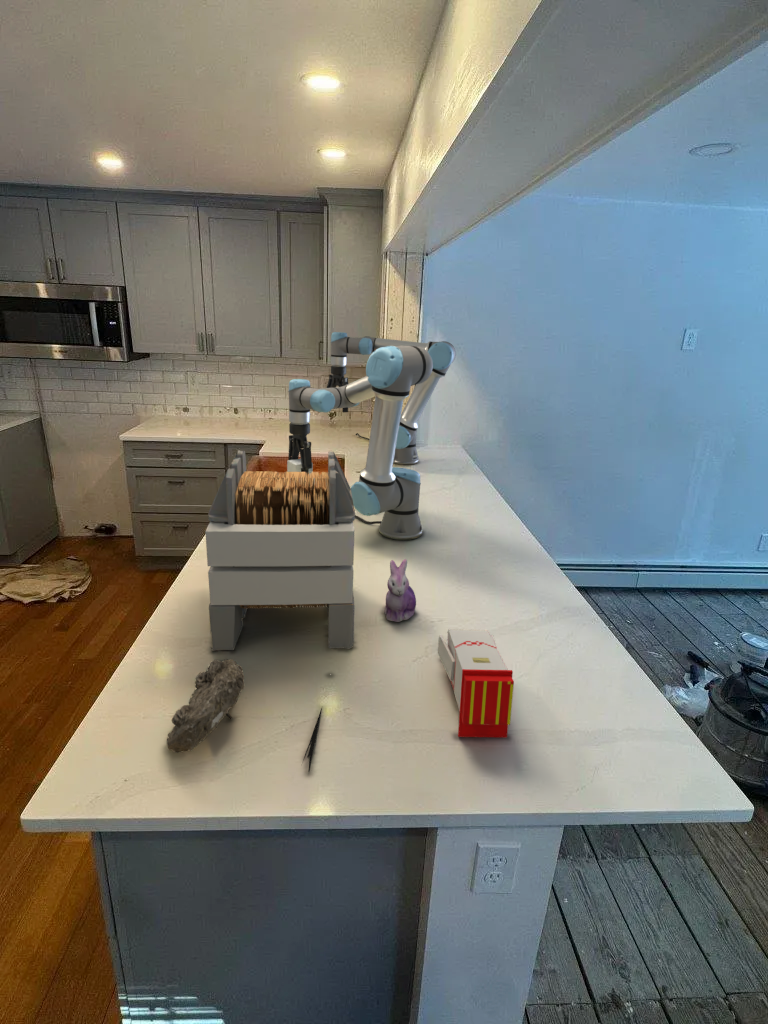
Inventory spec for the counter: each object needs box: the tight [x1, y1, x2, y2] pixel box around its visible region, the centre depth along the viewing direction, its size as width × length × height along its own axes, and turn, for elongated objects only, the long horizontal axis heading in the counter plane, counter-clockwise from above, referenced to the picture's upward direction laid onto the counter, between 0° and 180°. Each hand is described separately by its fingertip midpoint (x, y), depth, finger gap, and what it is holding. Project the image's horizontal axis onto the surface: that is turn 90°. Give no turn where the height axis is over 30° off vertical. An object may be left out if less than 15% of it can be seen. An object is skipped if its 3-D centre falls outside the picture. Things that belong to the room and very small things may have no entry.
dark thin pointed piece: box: [301, 673, 332, 771], centre depth 108 cm, size 2×28×2 cm
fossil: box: [166, 658, 245, 754], centre depth 106 cm, size 22×10×15 cm
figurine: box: [384, 558, 417, 623], centre depth 145 cm, size 9×10×15 cm
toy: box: [437, 628, 515, 738], centre depth 117 cm, size 12×13×30 cm
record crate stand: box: [204, 449, 356, 652], centre depth 138 cm, size 34×33×41 cm
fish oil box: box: [286, 458, 314, 475], centre depth 214 cm, size 7×7×13 cm
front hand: (300, 482), depth 215 cm, fingers closed on fish oil box, 7 cm apart
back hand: (337, 410), depth 280 cm, fingers open, 13 cm apart
